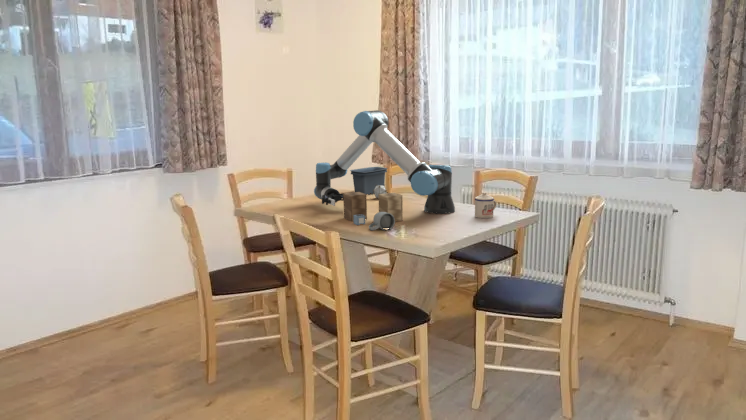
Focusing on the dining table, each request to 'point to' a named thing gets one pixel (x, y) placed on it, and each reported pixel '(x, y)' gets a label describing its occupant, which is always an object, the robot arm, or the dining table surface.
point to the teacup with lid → (484, 206)
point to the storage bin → (368, 179)
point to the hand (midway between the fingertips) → (347, 201)
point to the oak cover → (391, 205)
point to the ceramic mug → (382, 221)
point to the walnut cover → (354, 205)
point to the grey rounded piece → (379, 190)
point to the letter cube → (359, 219)
